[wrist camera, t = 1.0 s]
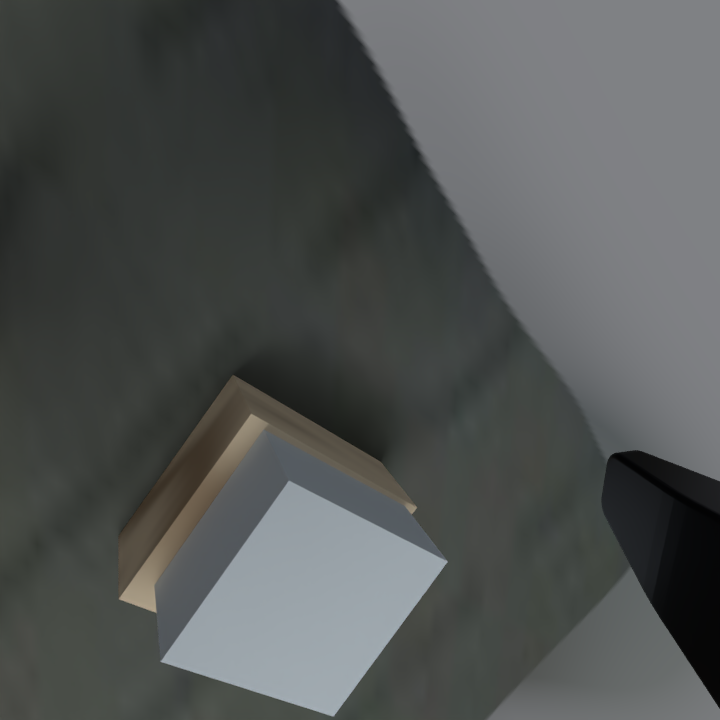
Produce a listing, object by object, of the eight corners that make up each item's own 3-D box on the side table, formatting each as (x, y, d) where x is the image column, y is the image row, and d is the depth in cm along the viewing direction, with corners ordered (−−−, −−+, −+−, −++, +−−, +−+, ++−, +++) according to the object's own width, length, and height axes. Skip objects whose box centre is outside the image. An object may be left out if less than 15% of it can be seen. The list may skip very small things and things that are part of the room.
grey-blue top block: (305, 641, 21) (333, 716, 18) (154, 585, 18) (160, 661, 16) (404, 506, 21) (447, 561, 18) (263, 429, 18) (288, 480, 15)
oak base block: (276, 596, 24) (299, 665, 21) (118, 531, 21) (118, 598, 18) (378, 458, 24) (417, 507, 21) (231, 371, 21) (251, 413, 18)
